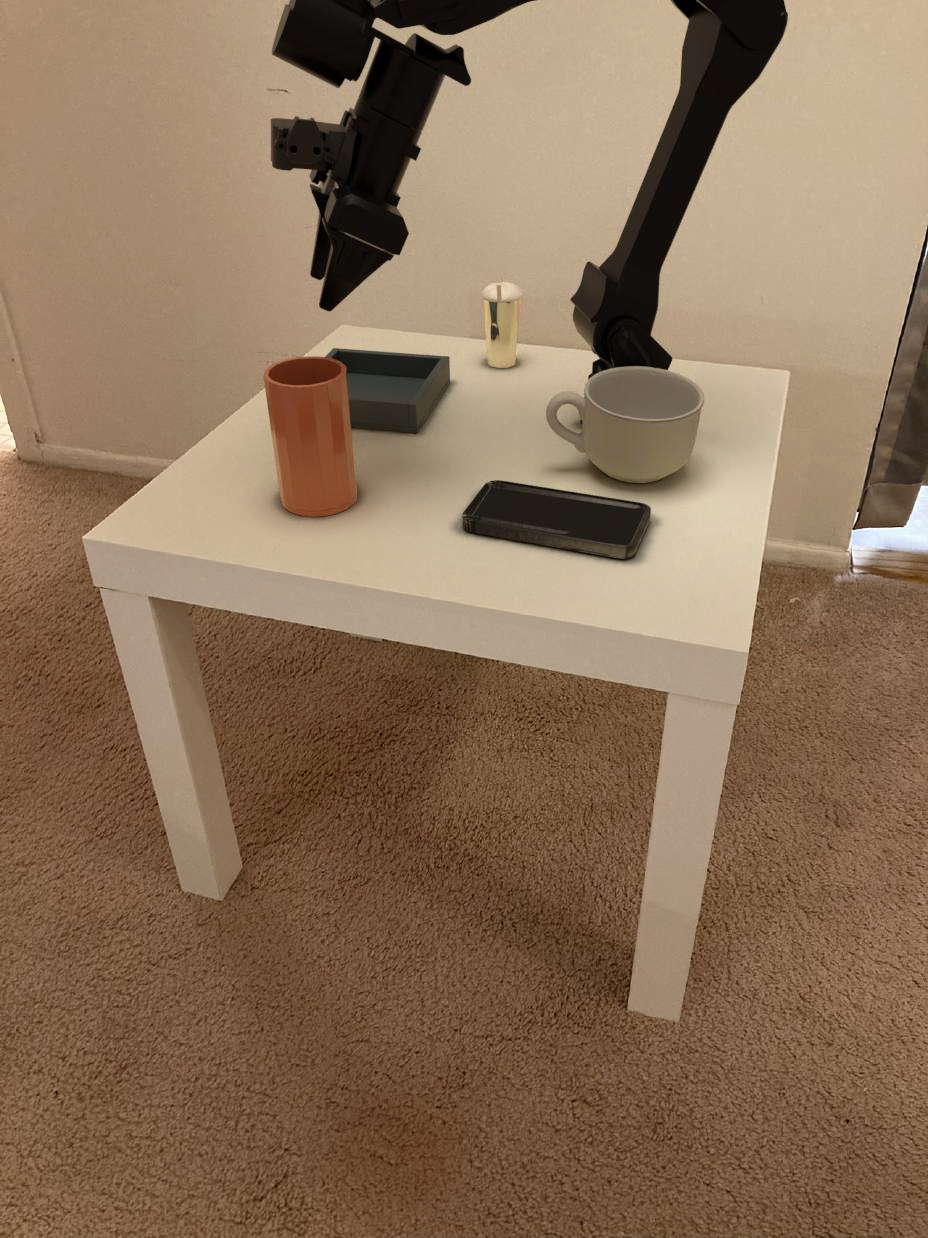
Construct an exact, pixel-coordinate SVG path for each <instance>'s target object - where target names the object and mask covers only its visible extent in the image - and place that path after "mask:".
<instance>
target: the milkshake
mask: <svg viewBox="0 0 928 1238" xmlns="http://www.w3.org/2000/svg"><path fill="white" fill-rule="evenodd" d="M481 299H482V301H481V302H482V308H483V309H482V310H483V316H484V317H483V319H484V330H485V343H486V344H485V345H486V359H487V364H488V365H489V366H490V367H492V368H497V369H507V368H508V369H509V368H511V367H514V366H515V364H516V362H517V351H518V350H517V349H518V340H519V339H518V338H519V327H520V320H521V319H520V318H521V310H522V303H523V291H522V289H521V288H520V287H519V286H518V285H517V284H515V283H513V282H510V281H504V282H492V283H490V284H488V285H486V286H485V287H484V289H483V290H482V291H481Z"/></svg>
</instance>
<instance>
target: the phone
mask: <svg viewBox="0 0 928 1238" xmlns="http://www.w3.org/2000/svg"><path fill="white" fill-rule="evenodd" d="M651 513H652V508H651V506H650V505H648V504H646V503H644V502H639V501H635V500H634V501H633V500H627V499H621V498H614V497H609V496H608V497H607V496H601V495H595V494H589V493H582V492H576V491H570V490H563V489H557V488H551V487H545V486H539V485H532V484H526V483H521V482H520V483H519V482H513V481H508V480H507V481H506V480H499V479H493V480H489V481H487V482H485V483H484V484H483V485H482V487H481V488H480V490H479V491H478V492H477V493H476V495H475V496H474V498H473V499H472V500H471V501H470V502H469V504H468V505H467V507H466V508H465V510H464V511H463V512H462V528H463V530H464V531H466V532H469V533H473V534H479V535H485V536H489V537H496V538H501V539H507V540H512V541H517V542H518V541H519V542H524V543H530V544H535V545H541V546H546V547H553V548H558V549H563V550H568V551H575V552H579V553H580V552H581V553H587V554H592V555H597V556H602V557H608V558H615V559H622V560H624V559H630V558H633V557H634V556H635V555H636V554H637V552H638V549H639V547H640V544H641V542H642V541H643V539H644V536H645V534H646V531H647V529H648V527H649V525H650V522H651V515H652V514H651Z"/></svg>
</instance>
